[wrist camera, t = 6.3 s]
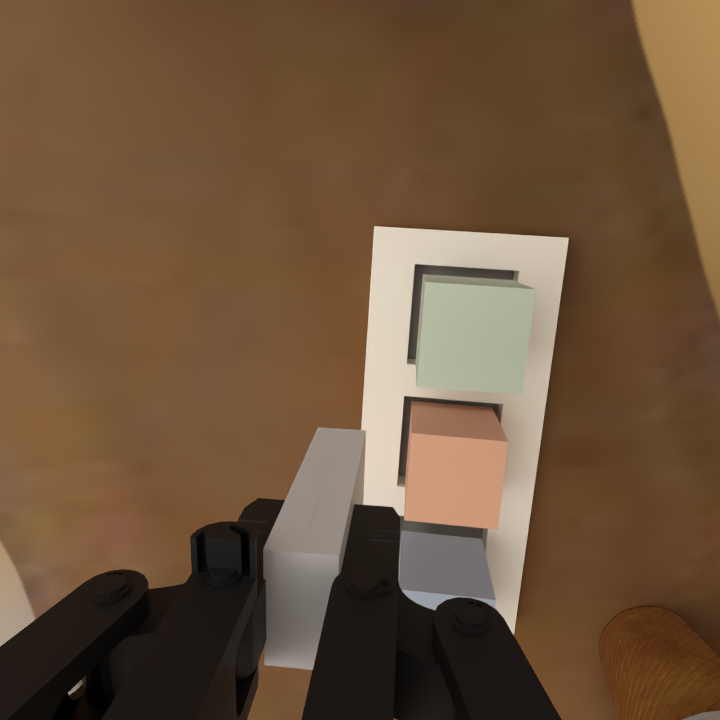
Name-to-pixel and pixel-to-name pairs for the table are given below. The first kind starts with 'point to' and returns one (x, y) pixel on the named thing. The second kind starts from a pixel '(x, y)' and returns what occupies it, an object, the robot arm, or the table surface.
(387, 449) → the board
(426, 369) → the sage block
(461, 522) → the terracotta block
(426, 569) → the slate block
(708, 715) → the disposable coffee cup
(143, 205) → the table surface
